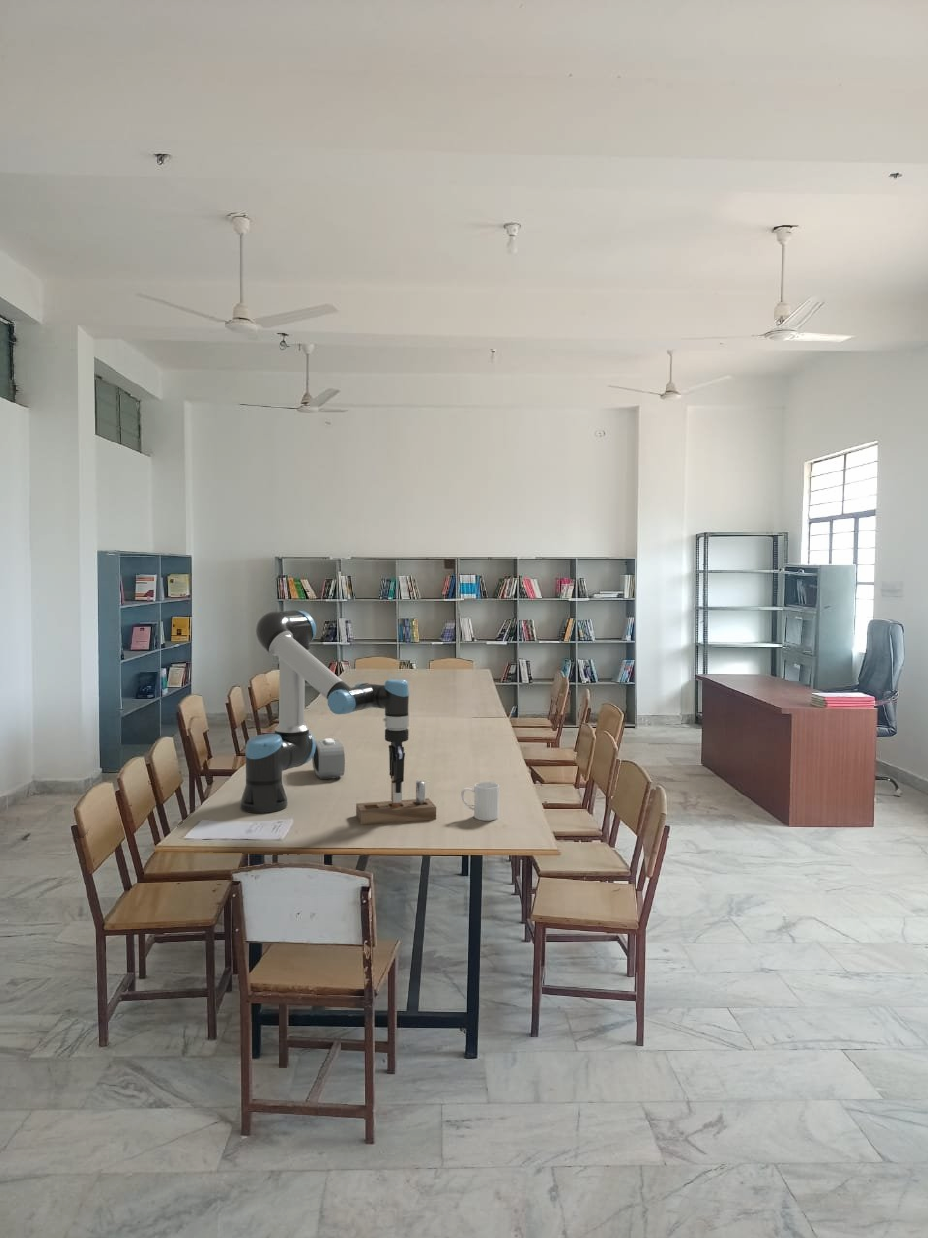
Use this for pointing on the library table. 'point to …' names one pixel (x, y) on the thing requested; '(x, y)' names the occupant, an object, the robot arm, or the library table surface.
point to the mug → (485, 801)
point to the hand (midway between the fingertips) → (396, 800)
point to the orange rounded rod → (392, 797)
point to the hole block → (394, 812)
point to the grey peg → (420, 793)
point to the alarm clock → (329, 759)
